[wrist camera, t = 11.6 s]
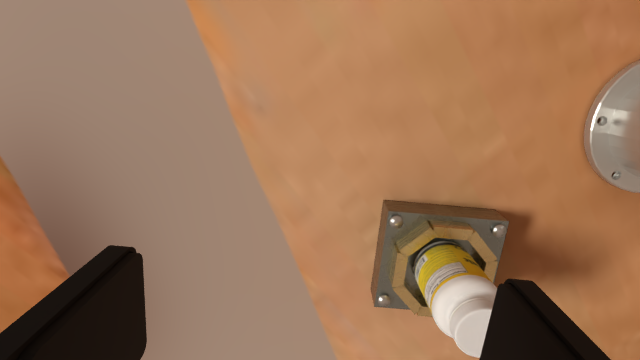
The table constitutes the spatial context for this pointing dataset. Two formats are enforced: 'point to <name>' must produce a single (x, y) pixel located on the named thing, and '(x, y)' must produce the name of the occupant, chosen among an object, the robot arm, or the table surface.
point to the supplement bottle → (456, 293)
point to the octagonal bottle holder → (418, 232)
